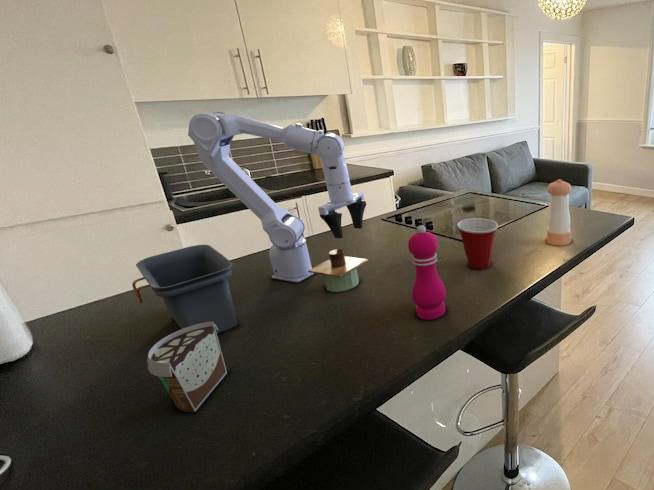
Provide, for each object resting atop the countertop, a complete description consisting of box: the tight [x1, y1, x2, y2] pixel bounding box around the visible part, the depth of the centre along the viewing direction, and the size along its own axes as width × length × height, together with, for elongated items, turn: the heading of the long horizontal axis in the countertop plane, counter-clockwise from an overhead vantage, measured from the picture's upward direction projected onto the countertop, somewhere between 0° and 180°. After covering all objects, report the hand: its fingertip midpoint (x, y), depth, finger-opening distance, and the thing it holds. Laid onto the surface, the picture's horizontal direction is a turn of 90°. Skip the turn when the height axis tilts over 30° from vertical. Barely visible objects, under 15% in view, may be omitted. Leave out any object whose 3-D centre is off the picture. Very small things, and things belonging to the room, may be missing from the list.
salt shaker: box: [546, 178, 573, 246], centre depth 121 cm, size 7×7×19 cm
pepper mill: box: [407, 224, 447, 321], centre depth 85 cm, size 7×7×20 cm
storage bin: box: [131, 244, 238, 335], centre depth 86 cm, size 21×16×14 cm
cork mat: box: [308, 248, 369, 278], centre depth 101 cm, size 10×10×4 cm
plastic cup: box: [456, 217, 499, 270], centre depth 109 cm, size 11×11×12 cm
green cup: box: [322, 267, 360, 293], centre depth 103 cm, size 8×8×5 cm
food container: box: [146, 322, 228, 413], centre depth 66 cm, size 12×6×10 cm, turn 5°
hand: (348, 232), depth 109 cm, fingers open, 7 cm apart
